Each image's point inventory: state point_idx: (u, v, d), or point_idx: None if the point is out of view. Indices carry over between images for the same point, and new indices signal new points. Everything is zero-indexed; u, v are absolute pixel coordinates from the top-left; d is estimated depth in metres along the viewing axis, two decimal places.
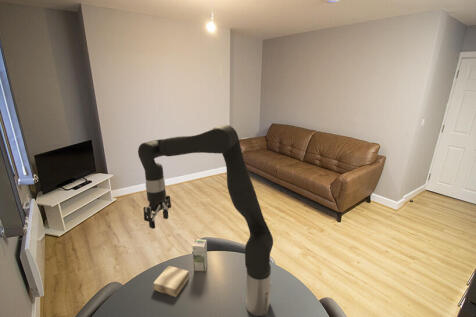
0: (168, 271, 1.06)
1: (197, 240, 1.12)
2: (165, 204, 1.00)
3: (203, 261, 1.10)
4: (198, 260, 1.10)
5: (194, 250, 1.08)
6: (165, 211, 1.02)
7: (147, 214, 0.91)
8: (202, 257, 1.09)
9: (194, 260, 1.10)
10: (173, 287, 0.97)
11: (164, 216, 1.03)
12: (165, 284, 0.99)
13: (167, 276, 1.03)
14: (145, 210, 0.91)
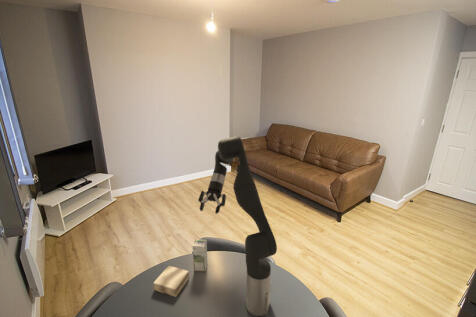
0: (168, 271, 1.06)
1: (197, 240, 1.12)
2: (216, 197, 1.19)
3: (203, 261, 1.10)
4: (198, 260, 1.10)
5: (194, 250, 1.08)
6: None
7: None
8: (202, 257, 1.09)
9: (194, 260, 1.10)
10: (173, 287, 0.97)
11: None
12: (165, 284, 0.99)
13: (167, 276, 1.03)
14: None
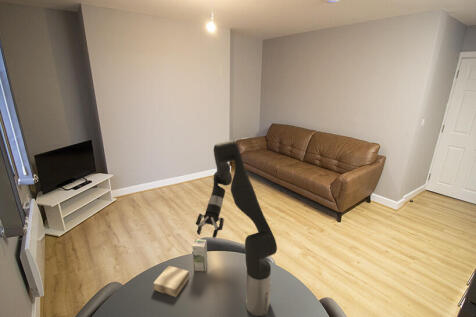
0: (168, 271, 1.06)
1: (197, 240, 1.12)
2: (214, 221, 1.18)
3: (203, 261, 1.10)
4: (198, 260, 1.10)
5: (194, 250, 1.08)
6: None
7: None
8: (202, 257, 1.09)
9: (194, 260, 1.10)
10: (173, 287, 0.97)
11: None
12: (165, 284, 0.99)
13: (167, 276, 1.03)
14: None
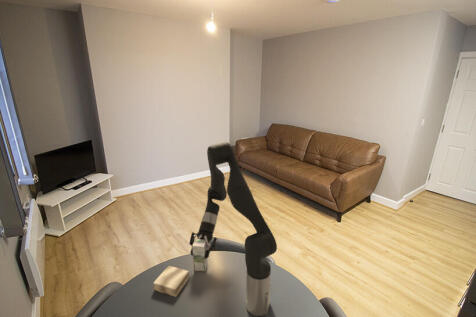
0: (168, 271, 1.06)
1: (197, 240, 1.12)
2: (207, 240, 1.12)
3: (203, 261, 1.10)
4: (198, 260, 1.10)
5: (194, 250, 1.08)
6: None
7: None
8: (202, 257, 1.09)
9: (194, 260, 1.10)
10: (173, 287, 0.97)
11: None
12: (165, 284, 0.99)
13: (167, 276, 1.03)
14: None
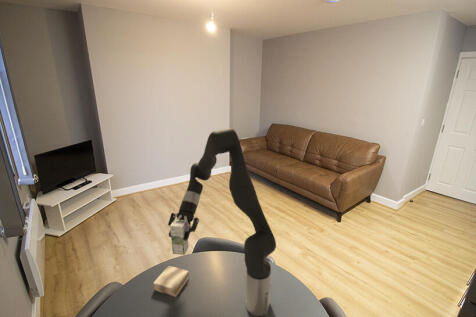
0: (168, 271, 1.06)
1: (176, 220, 1.02)
2: (187, 220, 1.02)
3: (182, 243, 0.99)
4: (177, 241, 1.00)
5: (172, 231, 0.98)
6: None
7: None
8: (181, 238, 0.99)
9: (172, 242, 1.00)
10: (173, 287, 0.97)
11: None
12: (165, 284, 0.99)
13: (167, 276, 1.03)
14: None
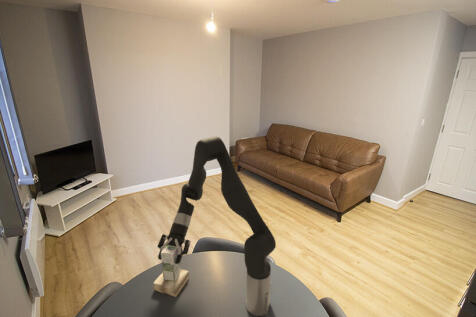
0: None
1: (167, 246, 1.01)
2: (178, 243, 1.01)
3: (173, 270, 0.99)
4: (167, 268, 0.99)
5: (163, 257, 0.98)
6: None
7: None
8: (171, 265, 0.98)
9: (163, 268, 0.99)
10: (173, 287, 0.97)
11: None
12: (165, 284, 0.99)
13: None
14: None
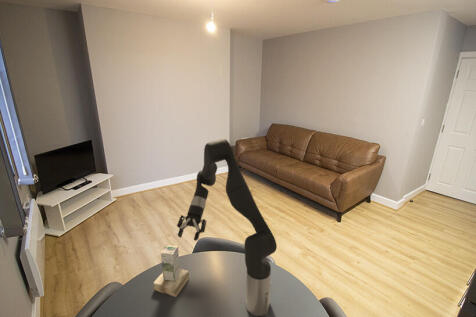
0: None
1: (167, 246, 1.01)
2: (196, 222, 1.13)
3: (173, 270, 0.99)
4: (167, 268, 0.99)
5: (162, 257, 0.98)
6: None
7: None
8: (171, 266, 0.98)
9: (163, 268, 0.99)
10: (173, 287, 0.97)
11: None
12: (165, 284, 0.99)
13: None
14: None
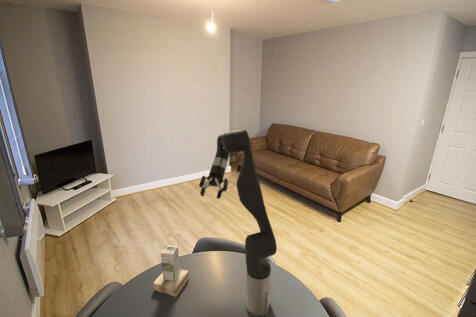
0: None
1: (167, 246, 1.01)
2: (218, 182, 1.13)
3: (173, 270, 0.99)
4: (167, 268, 0.99)
5: (162, 257, 0.98)
6: None
7: None
8: (171, 266, 0.98)
9: (163, 268, 0.99)
10: (173, 287, 0.97)
11: None
12: (165, 284, 0.99)
13: None
14: None
